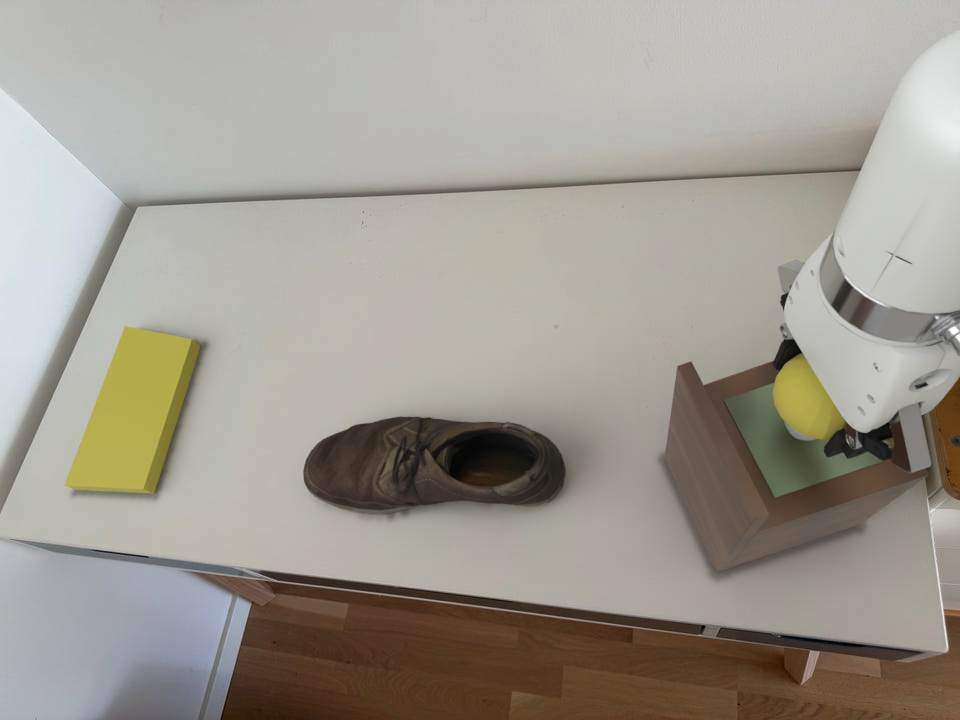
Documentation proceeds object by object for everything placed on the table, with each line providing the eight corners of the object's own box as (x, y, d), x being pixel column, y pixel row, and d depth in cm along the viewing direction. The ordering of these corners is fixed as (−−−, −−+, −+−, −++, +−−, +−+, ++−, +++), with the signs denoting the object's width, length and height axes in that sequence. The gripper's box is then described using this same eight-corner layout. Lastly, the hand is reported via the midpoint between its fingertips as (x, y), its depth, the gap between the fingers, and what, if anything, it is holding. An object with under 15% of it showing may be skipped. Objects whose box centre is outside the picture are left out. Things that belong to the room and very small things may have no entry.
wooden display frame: (794, 413, 72) (861, 301, 51) (859, 525, 66) (964, 449, 45) (664, 458, 73) (677, 365, 52) (715, 572, 67) (753, 520, 46)
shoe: (331, 416, 84) (297, 384, 76) (571, 437, 76) (563, 404, 68) (306, 507, 79) (266, 484, 71) (559, 539, 72) (550, 519, 63)
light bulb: (859, 408, 53) (904, 353, 44) (831, 480, 51) (872, 437, 42) (775, 377, 55) (801, 319, 47) (746, 444, 53) (767, 396, 45)
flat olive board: (154, 493, 85) (205, 331, 95) (143, 489, 83) (196, 324, 93) (76, 489, 88) (134, 333, 98) (64, 485, 86) (124, 325, 96)
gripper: (1101, 390, 29) (937, 494, 44) (879, 130, 37) (807, 295, 53) (935, 445, 29) (831, 530, 45) (752, 176, 38) (718, 326, 53)
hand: (818, 402), depth 49 cm, fingers closed on light bulb, 6 cm apart
